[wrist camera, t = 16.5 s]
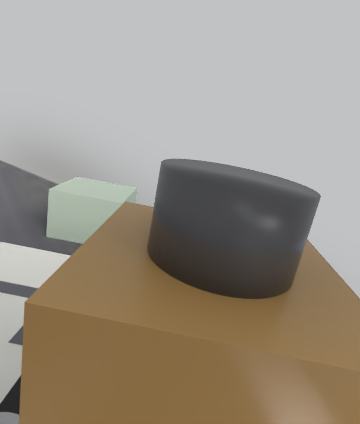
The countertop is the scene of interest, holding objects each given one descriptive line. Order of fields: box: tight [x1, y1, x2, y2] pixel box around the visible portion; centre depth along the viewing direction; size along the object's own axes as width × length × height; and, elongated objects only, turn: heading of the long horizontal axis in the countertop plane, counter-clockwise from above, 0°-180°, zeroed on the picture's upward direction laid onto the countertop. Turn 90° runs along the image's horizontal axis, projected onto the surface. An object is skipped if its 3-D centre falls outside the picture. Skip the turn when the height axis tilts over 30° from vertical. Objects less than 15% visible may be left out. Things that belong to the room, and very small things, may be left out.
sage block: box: [46, 177, 137, 244], centre depth 33 cm, size 7×7×5 cm
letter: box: [0, 242, 70, 403], centre depth 19 cm, size 12×16×1 cm
